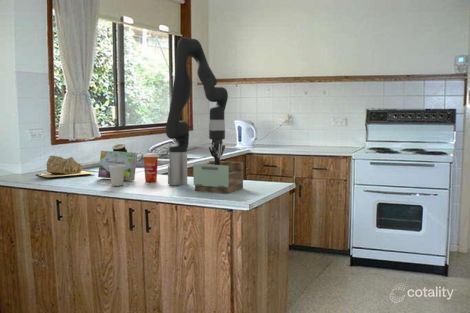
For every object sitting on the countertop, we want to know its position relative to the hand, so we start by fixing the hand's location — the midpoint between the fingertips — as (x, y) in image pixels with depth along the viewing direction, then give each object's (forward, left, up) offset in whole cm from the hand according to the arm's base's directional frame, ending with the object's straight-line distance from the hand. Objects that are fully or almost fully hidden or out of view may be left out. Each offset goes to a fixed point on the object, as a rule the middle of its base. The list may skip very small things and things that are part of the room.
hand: (217, 165), depth 240 cm
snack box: (-67, +8, -12) cm, 68 cm away
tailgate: (0, -7, -9) cm, 11 cm away
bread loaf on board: (-105, +11, -16) cm, 107 cm away
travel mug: (-70, +20, -11) cm, 73 cm away
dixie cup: (-55, -6, -12) cm, 57 cm away
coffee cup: (-47, +13, -12) cm, 50 cm away
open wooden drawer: (0, +2, -12) cm, 12 cm away
